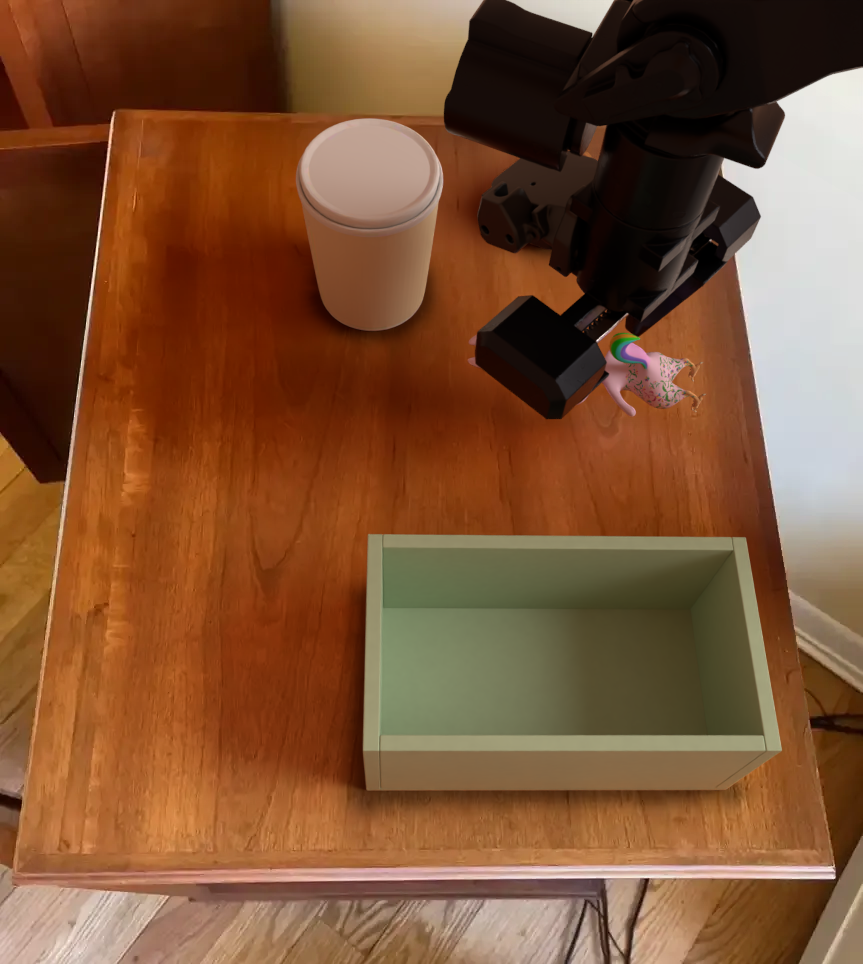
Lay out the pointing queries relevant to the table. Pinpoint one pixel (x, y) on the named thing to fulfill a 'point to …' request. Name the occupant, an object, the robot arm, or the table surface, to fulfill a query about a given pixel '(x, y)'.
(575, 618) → the bin
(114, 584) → the table surface
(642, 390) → the rabbit figure
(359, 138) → the coffee cup
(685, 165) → the robot arm
